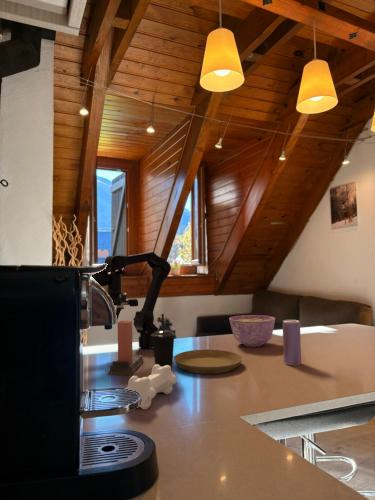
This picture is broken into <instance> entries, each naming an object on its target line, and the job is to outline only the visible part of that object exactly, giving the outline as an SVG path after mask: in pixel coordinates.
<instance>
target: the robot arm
mask: <svg viewBox="0 0 375 500" xmlns="http://www.w3.org/2000/svg"><path fill="white" fill-rule="evenodd" d="M146 262H147V265H148V266H149V268H151V271H150V273H151V277H152V278H151V282H150V285H149V288H148V291H147V294H146V297H145V301H144V303H143V306H142V308H141V310H140V311H138V310H137V311H136V312H135V315H134V317H133V319H132V320H133V326H134V328H135V331H136V332H137V333H138V334H139V336H138V339H137V340H138V347H139V349H140V350H147V349H154V348H153V339H152V336H151V334H152V333H155V332H156V331H159V328H158V327H157V326H156V324H155V323H154V321H155V318H154V317H155V316H154V311H155V307H156V305H157V300H158V297H159V294H160V292H161V289H162V285H163V282H164V281H165V280H166V279H167V278H168V277H169V274H170V273H171V270H172V266H171V264H170V262H169V261H166V260H165V259H164V258H163V257H161V256H159V255H158V254H157V253H155V252H154V251H146V252H143V253H138V254H137V253H136V254H131V255H109V256H106V258H105V260H104V263H107V264H108V265H107V267H106V269H104V270H103V271H101V272H99V273H96V274H94V275H92V277H93V278H94V279H95V280H96V281H97V282H98V283H99V284H100V285H101V286H102V287H101V288H105V287H107V288H106V292H108V294H109V295H110V297H111V298H112V300H113V303H114V305H115V306H116V308H115V315H117V321H118V319H119V316H120V313H121V312H122V310H124V309H125V307H124V306H129V307H139V300H138V299H137V298H127V292H122V276H125V275H127V273H126V272H125V271H124V270H123V269H125V267H127V266H130V265H134V264H141V263H146ZM115 306H114V307H115Z"/></svg>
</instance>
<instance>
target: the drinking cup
mask: <svg viewBox="0 0 375 500" xmlns="http://www.w3.org/2000/svg"><path fill="white" fill-rule="evenodd" d="M164 315H165V314H164V313H161V329H160V330H159V329H158V331H156V332H155V333H152V334H151V336H152V339H153V348H152V349H153V356H154V365H156V364H159V365H160V367H163V366H165V365H169V366H171V371H172V372H173V363H174V362H173V361H174V344H175V343H174V341H175V336H176V333H175V332H174V331H171V330H167V329H165V316H164Z"/></svg>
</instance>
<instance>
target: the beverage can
mask: <svg viewBox="0 0 375 500" xmlns="http://www.w3.org/2000/svg"><path fill="white" fill-rule="evenodd" d="M301 339H302V337H301V323H300V320H298V319H284V320H282V343H283V344H282V346H283V349H282V350H283V362H284V364H285V365H287V366H291V367H292V366H300V365H301V364H302V344H301V343H302V340H301Z"/></svg>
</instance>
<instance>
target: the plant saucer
mask: <svg viewBox="0 0 375 500" xmlns="http://www.w3.org/2000/svg"><path fill="white" fill-rule="evenodd" d="M173 361H174V362H175V364H176V365H177V366H178V367H179V368H180V369H182V370H184V371H186V372H189V373H194V374H201V375H202V374H203V375H204V374H205V375H212V374H222V373H227V372H230V371H233V370H234V369H236V368H237V367H239V366H240V364H241V363H242V361H243V356H242V355H241V354H239V353H236V352H232V351H228V350H221V349H194V350H187V351H183V352H180V353H177V354H175V355H173Z"/></svg>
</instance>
